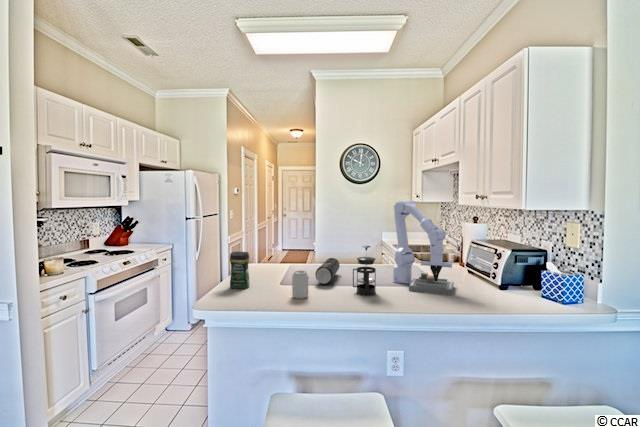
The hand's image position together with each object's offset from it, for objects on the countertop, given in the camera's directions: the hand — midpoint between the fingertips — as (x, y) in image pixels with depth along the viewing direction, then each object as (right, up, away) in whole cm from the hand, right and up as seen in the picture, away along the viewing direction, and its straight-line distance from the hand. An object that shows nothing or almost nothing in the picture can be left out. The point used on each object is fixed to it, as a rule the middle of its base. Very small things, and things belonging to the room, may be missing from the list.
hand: (435, 280), depth 174 cm
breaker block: (-1, -5, +4) cm, 6 cm away
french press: (-35, -6, -3) cm, 36 cm away
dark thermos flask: (-53, -4, +23) cm, 57 cm away
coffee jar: (-98, -5, +7) cm, 99 cm away
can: (-66, -6, -10) cm, 67 cm away
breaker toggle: (-3, -2, +1) cm, 4 cm away
